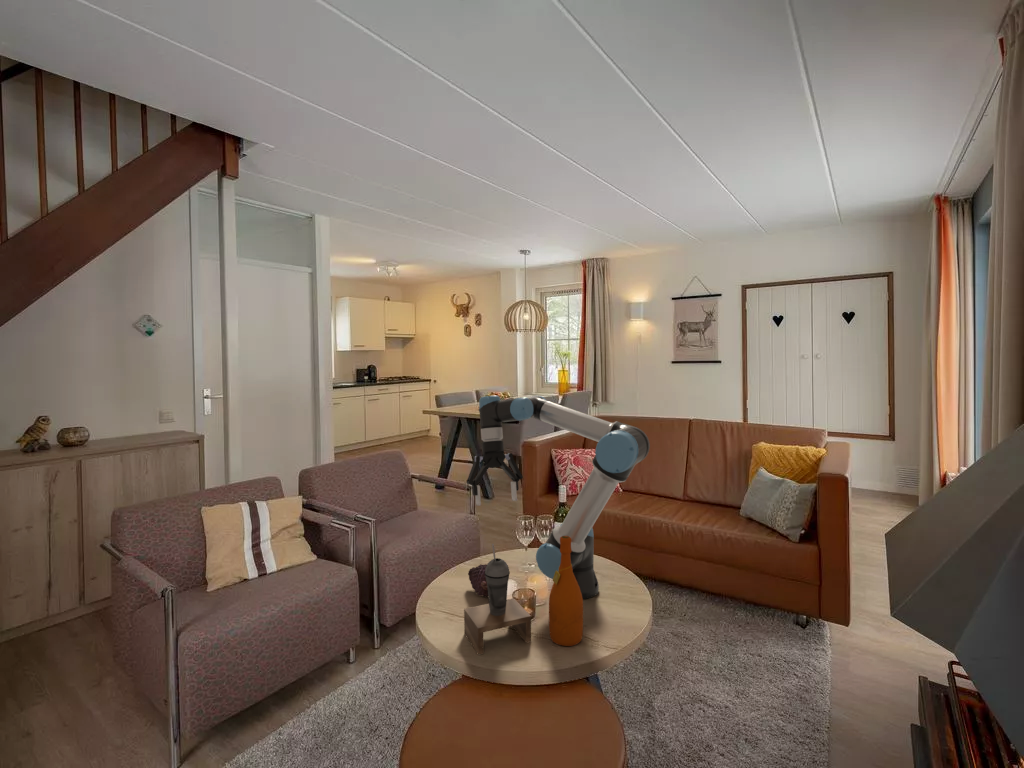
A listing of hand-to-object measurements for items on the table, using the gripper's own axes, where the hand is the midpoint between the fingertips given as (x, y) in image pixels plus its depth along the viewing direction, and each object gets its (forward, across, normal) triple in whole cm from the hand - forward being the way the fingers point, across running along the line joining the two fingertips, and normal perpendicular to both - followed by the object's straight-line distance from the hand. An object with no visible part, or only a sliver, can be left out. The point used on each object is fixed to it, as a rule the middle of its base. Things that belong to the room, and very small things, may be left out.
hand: (496, 503), depth 175 cm
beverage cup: (+29, +11, +20) cm, 37 cm away
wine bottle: (+38, -6, +28) cm, 48 cm away
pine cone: (+31, +3, -8) cm, 32 cm away
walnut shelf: (+36, +11, +19) cm, 42 cm away
